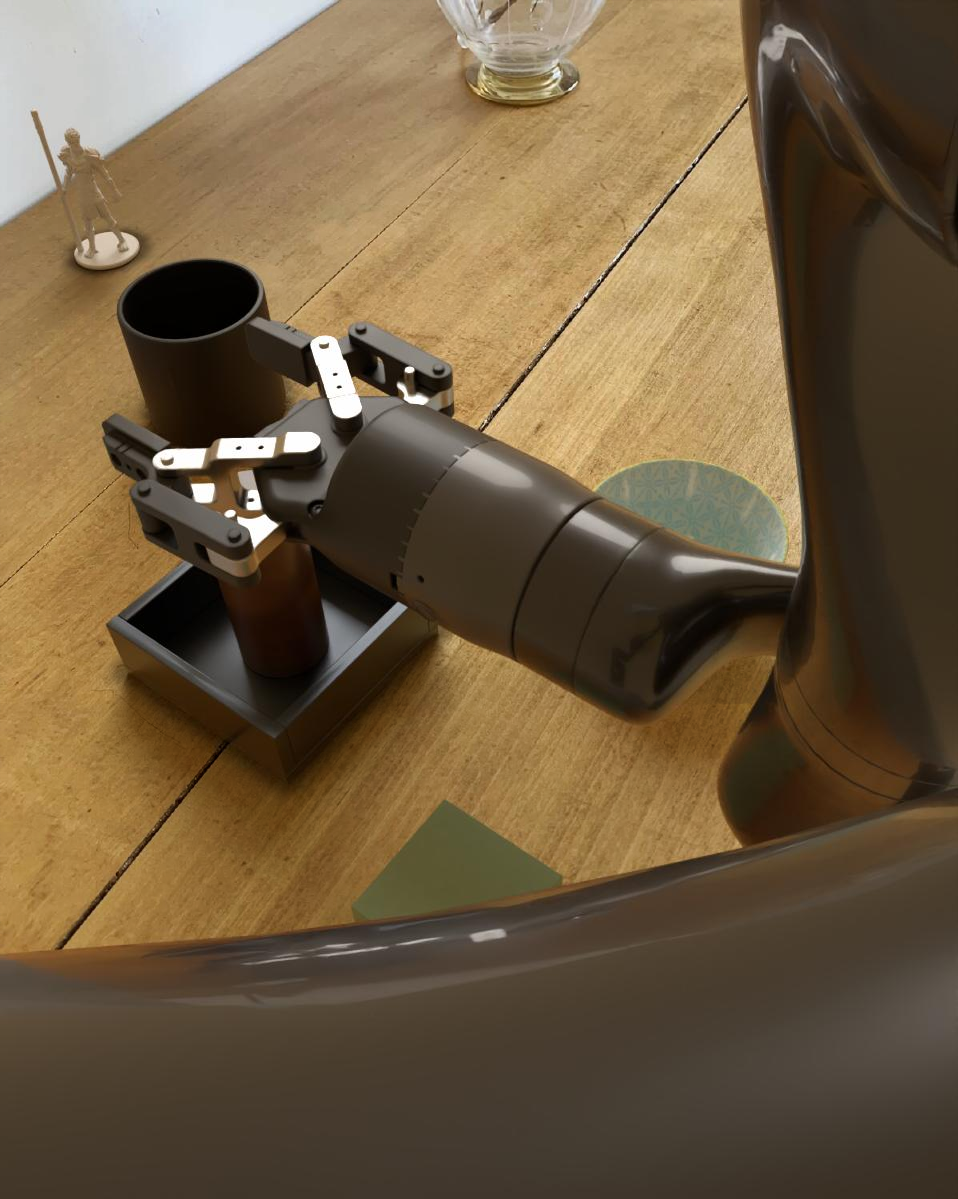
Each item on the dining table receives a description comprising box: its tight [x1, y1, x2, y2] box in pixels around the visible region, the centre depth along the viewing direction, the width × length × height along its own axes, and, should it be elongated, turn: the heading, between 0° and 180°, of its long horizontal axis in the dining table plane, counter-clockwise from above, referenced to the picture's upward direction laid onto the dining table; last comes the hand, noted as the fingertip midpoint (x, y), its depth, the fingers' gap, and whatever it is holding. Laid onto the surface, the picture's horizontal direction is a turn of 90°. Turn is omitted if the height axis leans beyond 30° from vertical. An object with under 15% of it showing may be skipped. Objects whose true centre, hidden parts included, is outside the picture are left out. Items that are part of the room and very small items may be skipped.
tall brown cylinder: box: [216, 469, 329, 678], centre depth 59 cm, size 5×5×11 cm
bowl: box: [591, 458, 790, 563], centre depth 63 cm, size 11×12×6 cm
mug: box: [116, 257, 287, 449], centre depth 75 cm, size 9×12×9 cm
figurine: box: [30, 108, 141, 271], centre depth 87 cm, size 5×5×12 cm
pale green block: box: [350, 798, 564, 922], centre depth 47 cm, size 6×6×9 cm
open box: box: [105, 545, 440, 785], centre depth 62 cm, size 13×13×4 cm
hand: (184, 383), depth 50 cm, fingers open, 8 cm apart
